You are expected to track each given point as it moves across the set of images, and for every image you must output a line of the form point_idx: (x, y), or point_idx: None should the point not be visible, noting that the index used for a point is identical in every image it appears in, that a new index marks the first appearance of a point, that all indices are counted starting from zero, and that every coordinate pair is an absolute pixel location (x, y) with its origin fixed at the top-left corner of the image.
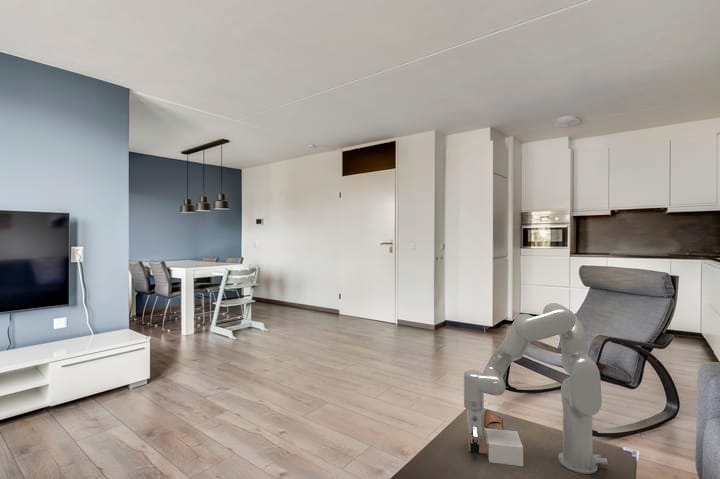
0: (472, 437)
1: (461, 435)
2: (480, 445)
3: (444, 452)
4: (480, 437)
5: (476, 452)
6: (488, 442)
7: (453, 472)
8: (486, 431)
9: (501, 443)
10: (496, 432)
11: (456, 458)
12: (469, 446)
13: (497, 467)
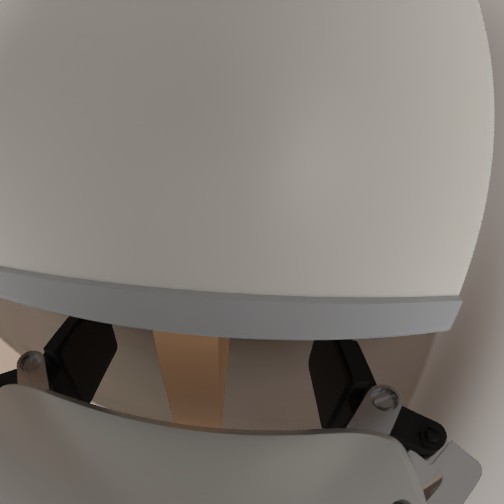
0: (216, 418)
1: (51, 336)
2: None
3: (258, 427)
4: (188, 355)
5: (353, 341)
6: (444, 305)
7: (415, 390)
8: (29, 269)
9: (454, 63)
10: (16, 89)
11: (311, 393)
12: (226, 366)
13: None
